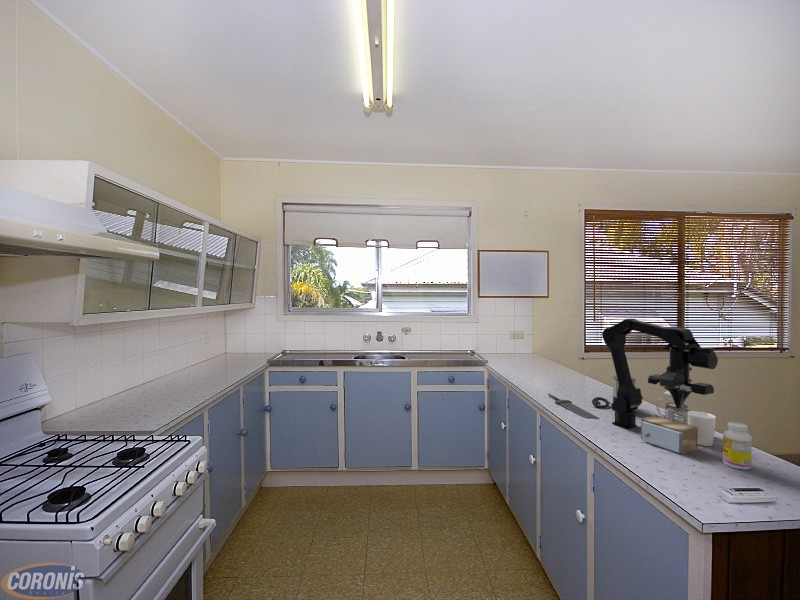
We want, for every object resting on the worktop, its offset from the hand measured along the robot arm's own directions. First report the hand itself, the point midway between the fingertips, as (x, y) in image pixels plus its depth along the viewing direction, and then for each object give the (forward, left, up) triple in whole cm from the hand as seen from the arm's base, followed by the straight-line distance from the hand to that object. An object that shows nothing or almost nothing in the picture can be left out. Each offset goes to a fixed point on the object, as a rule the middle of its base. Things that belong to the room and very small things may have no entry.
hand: (678, 408), depth 136 cm
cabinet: (-1, -4, -12) cm, 13 cm away
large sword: (-47, 0, -13) cm, 49 cm away
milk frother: (-36, +16, -13) cm, 42 cm away
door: (0, -10, -12) cm, 15 cm away
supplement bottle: (+18, -2, -13) cm, 22 cm away
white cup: (+3, +8, -13) cm, 15 cm away
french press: (-9, +13, -13) cm, 20 cm away
